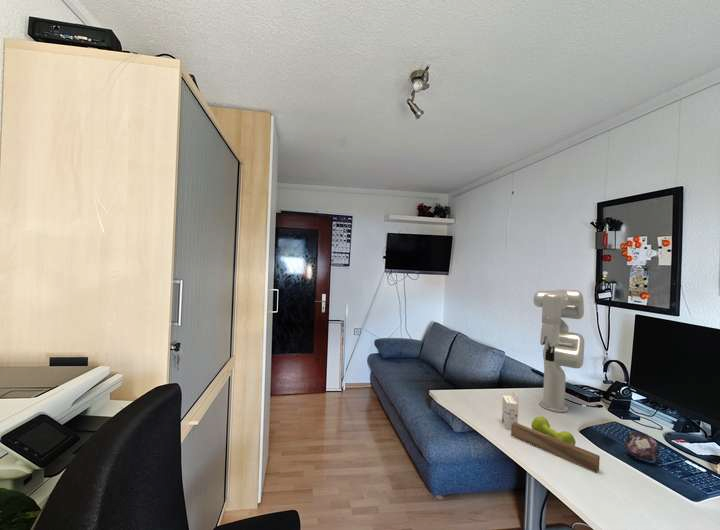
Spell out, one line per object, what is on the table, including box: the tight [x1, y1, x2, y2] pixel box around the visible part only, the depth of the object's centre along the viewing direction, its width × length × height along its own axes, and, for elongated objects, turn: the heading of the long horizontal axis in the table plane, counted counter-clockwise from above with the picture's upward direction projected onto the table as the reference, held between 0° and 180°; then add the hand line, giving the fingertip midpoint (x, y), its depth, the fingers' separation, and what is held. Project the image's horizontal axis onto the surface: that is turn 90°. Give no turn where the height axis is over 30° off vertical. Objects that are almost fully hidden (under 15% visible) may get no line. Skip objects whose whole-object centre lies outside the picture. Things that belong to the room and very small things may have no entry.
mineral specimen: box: [624, 430, 661, 463], centre depth 123 cm, size 10×10×10 cm
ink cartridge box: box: [501, 390, 519, 430], centre depth 145 cm, size 9×5×15 cm, turn 168°
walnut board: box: [510, 422, 601, 473], centre depth 125 cm, size 3×30×5 cm, turn 40°
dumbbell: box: [531, 416, 577, 446], centre depth 132 cm, size 16×8×7 cm, turn 13°
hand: (549, 360), depth 148 cm, fingers closed
